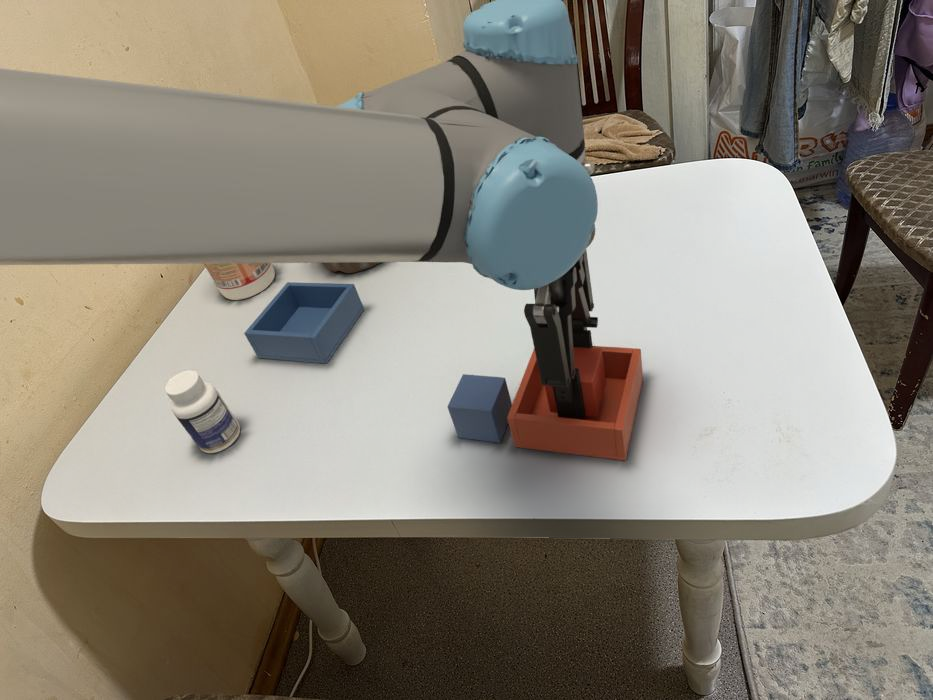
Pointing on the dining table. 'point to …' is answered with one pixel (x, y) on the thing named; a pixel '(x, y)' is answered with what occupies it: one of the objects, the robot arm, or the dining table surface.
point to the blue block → (480, 407)
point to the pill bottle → (202, 412)
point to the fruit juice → (241, 278)
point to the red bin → (592, 434)
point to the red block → (586, 379)
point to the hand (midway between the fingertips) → (577, 395)
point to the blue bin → (305, 322)
